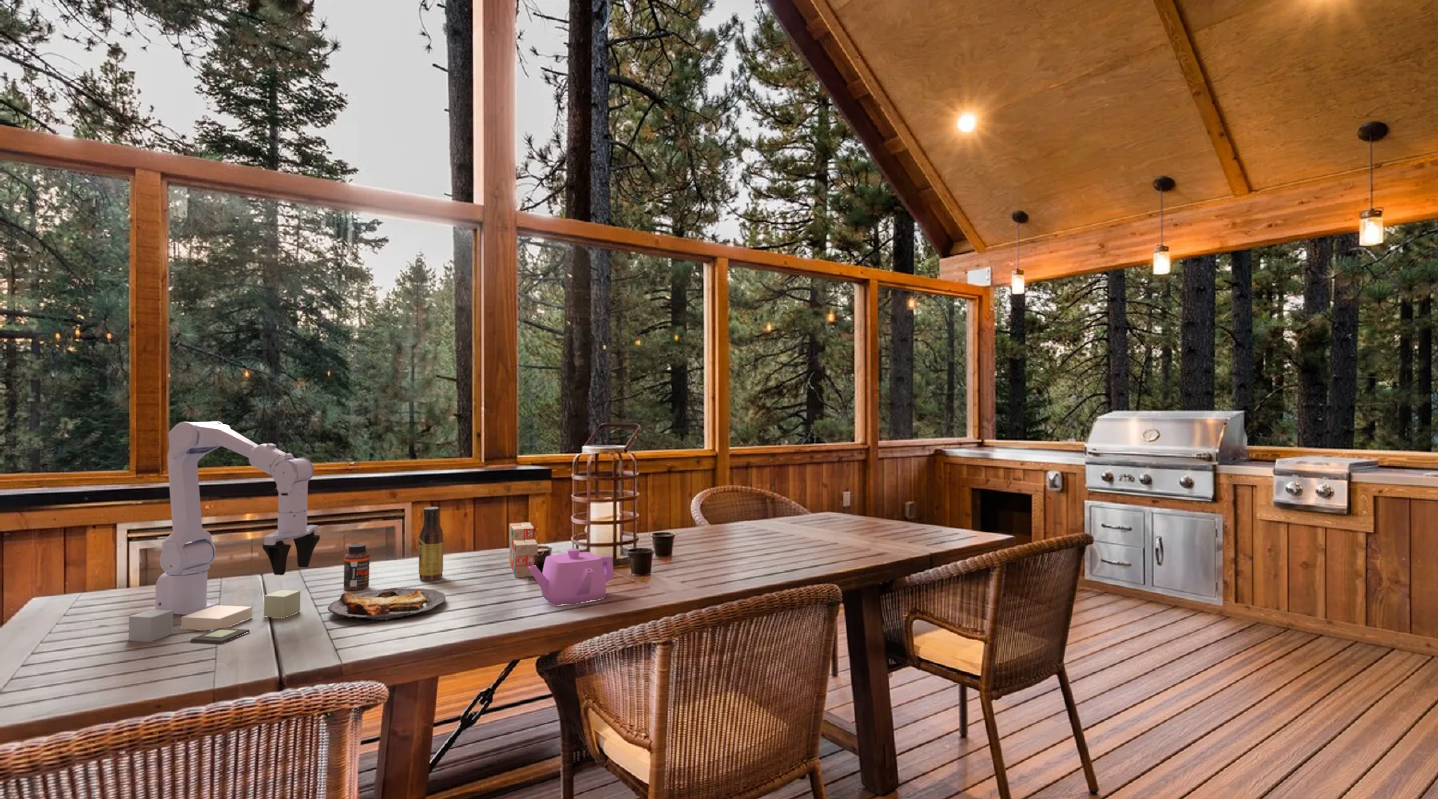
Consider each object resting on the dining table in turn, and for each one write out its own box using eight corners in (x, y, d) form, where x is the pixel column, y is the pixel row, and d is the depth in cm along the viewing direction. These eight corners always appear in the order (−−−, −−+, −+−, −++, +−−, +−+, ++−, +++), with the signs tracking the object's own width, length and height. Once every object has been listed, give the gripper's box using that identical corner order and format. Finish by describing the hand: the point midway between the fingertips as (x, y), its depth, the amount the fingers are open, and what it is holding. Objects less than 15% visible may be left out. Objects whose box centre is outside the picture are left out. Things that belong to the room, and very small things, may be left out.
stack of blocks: (537, 576, 199) (538, 533, 199) (514, 578, 197) (515, 534, 197) (529, 560, 219) (530, 521, 219) (508, 562, 217) (509, 522, 217)
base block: (180, 631, 150) (181, 616, 150) (216, 618, 158) (216, 605, 159) (219, 633, 148) (219, 618, 149) (252, 620, 157) (252, 606, 157)
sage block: (263, 617, 158) (264, 595, 158) (280, 611, 163) (280, 589, 163) (284, 618, 158) (284, 596, 158) (299, 612, 163) (300, 590, 163)
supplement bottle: (358, 591, 180) (358, 547, 181) (338, 590, 182) (338, 546, 182) (374, 586, 186) (374, 543, 186) (354, 584, 188) (355, 542, 188)
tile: (190, 641, 142) (190, 637, 142) (219, 630, 148) (219, 627, 148) (222, 643, 141) (222, 639, 141) (249, 632, 148) (249, 628, 148)
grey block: (128, 640, 142) (129, 616, 142) (151, 633, 147) (151, 609, 147) (150, 642, 141) (151, 617, 142) (172, 634, 146) (173, 610, 146)
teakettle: (616, 592, 183) (617, 544, 183) (590, 610, 167) (591, 558, 167) (556, 587, 187) (557, 541, 187) (525, 605, 170) (526, 554, 170)
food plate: (322, 628, 150) (323, 612, 150) (332, 602, 171) (333, 587, 171) (447, 618, 160) (447, 603, 160) (442, 594, 182) (442, 581, 182)
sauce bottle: (423, 576, 197) (424, 505, 197) (445, 576, 198) (446, 505, 198) (414, 582, 191) (415, 509, 191) (438, 581, 191) (439, 509, 191)
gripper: (285, 516, 153) (284, 579, 153) (330, 507, 167) (329, 564, 167) (256, 515, 153) (254, 577, 153) (302, 506, 168) (301, 563, 168)
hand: (291, 570), depth 160 cm, fingers open, 7 cm apart
